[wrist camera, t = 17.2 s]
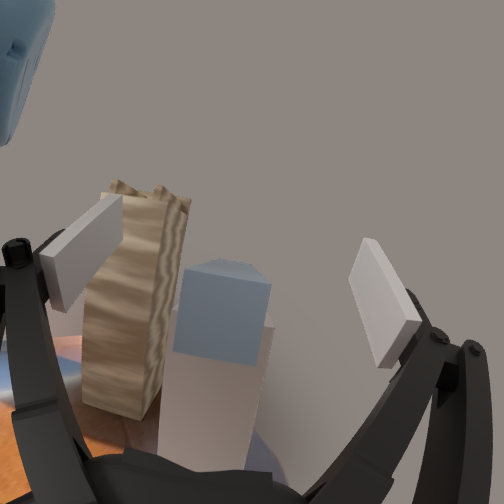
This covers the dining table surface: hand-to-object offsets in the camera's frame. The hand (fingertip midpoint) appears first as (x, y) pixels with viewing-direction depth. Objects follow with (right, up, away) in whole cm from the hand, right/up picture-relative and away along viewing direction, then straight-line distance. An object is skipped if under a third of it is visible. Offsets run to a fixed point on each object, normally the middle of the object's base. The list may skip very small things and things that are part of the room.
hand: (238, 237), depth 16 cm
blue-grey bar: (-2, -6, +10) cm, 12 cm away
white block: (-6, -28, +12) cm, 30 cm away
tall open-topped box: (-21, -25, +30) cm, 44 cm away
